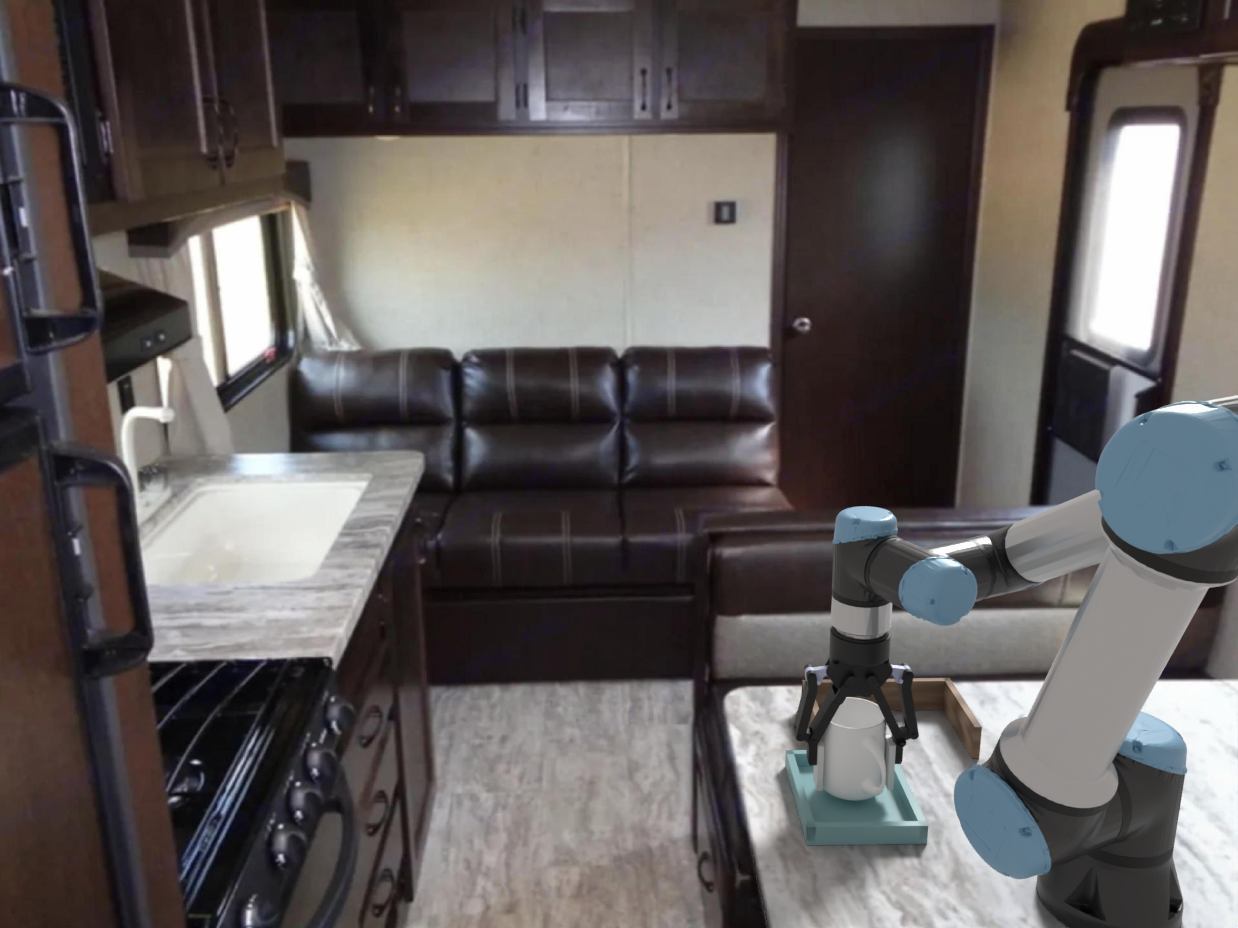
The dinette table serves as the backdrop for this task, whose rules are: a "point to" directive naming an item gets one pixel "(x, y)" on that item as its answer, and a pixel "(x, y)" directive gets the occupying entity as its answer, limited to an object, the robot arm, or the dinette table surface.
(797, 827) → the dinette table surface
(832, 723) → the mug
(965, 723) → the bay
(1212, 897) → the dinette table surface
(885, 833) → the tray
